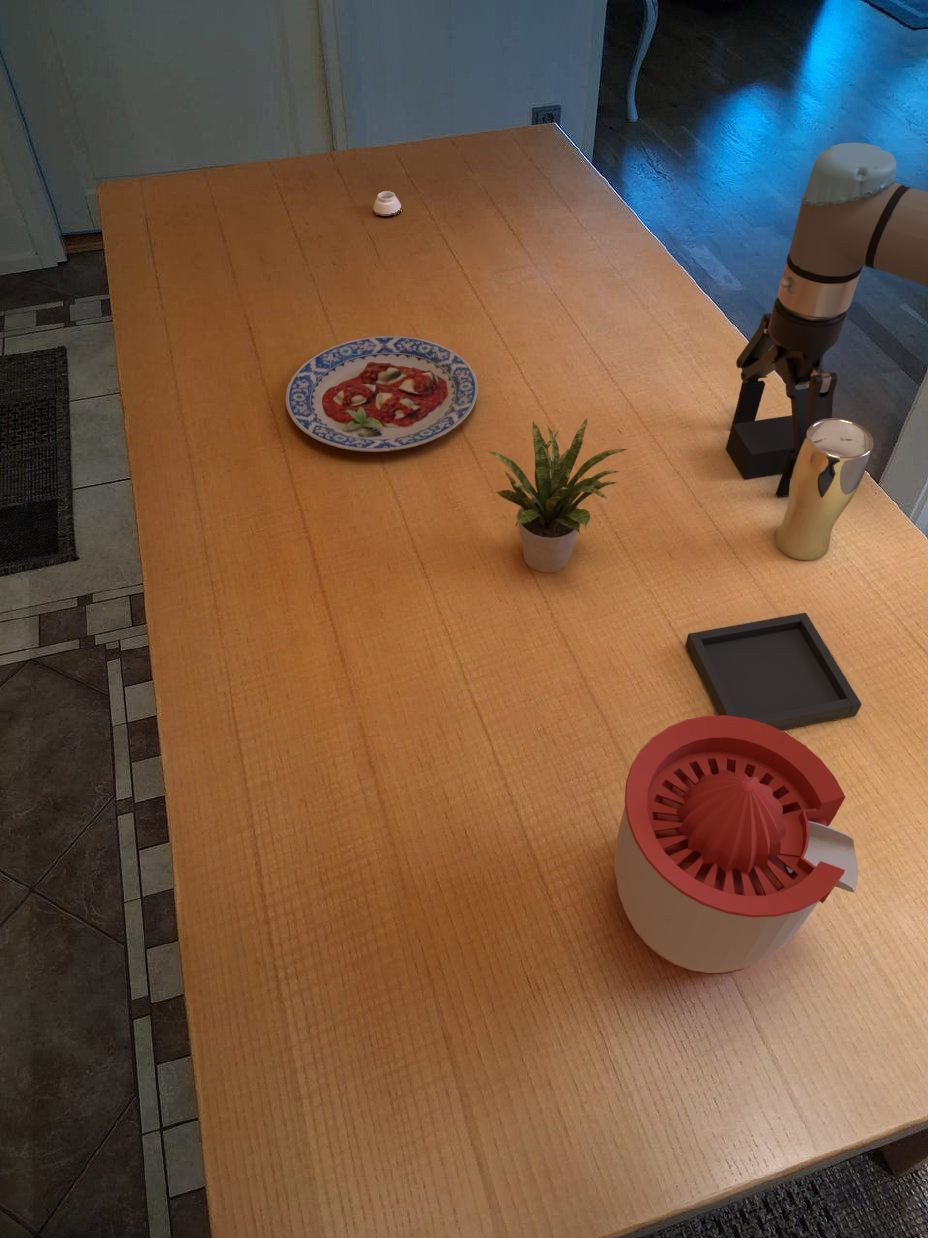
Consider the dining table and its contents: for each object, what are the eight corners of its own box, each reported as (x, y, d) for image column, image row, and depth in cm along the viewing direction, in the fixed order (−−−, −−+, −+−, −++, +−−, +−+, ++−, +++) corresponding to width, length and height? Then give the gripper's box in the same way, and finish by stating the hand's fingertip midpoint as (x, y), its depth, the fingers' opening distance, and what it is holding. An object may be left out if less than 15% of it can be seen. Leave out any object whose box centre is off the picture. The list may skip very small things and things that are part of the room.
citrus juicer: (809, 1031, 69) (901, 932, 54) (585, 971, 72) (612, 861, 57) (815, 849, 78) (894, 721, 63) (617, 803, 82) (647, 670, 66)
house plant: (646, 563, 101) (668, 449, 89) (559, 626, 95) (570, 513, 83) (556, 500, 108) (565, 386, 96) (470, 555, 103) (468, 441, 90)
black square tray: (801, 624, 95) (806, 612, 93) (855, 716, 87) (862, 704, 86) (684, 645, 93) (688, 633, 92) (730, 740, 86) (734, 729, 84)
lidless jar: (368, 209, 159) (381, 221, 156) (367, 192, 156) (379, 203, 154) (394, 202, 160) (406, 214, 157) (392, 186, 158) (405, 197, 155)
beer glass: (757, 538, 103) (790, 434, 92) (796, 512, 106) (833, 408, 95) (805, 573, 100) (846, 468, 88) (845, 545, 102) (890, 440, 91)
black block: (784, 440, 115) (792, 414, 112) (805, 470, 111) (814, 444, 108) (725, 449, 114) (731, 423, 111) (744, 479, 110) (751, 454, 107)
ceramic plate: (367, 330, 133) (365, 312, 131) (514, 385, 124) (514, 366, 121) (248, 419, 120) (243, 401, 118) (402, 489, 110) (400, 471, 108)
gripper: (732, 251, 104) (698, 403, 120) (833, 374, 88) (778, 530, 104) (793, 243, 104) (751, 396, 121) (903, 363, 89) (838, 520, 105)
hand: (764, 458), depth 112 cm, fingers open, 13 cm apart
